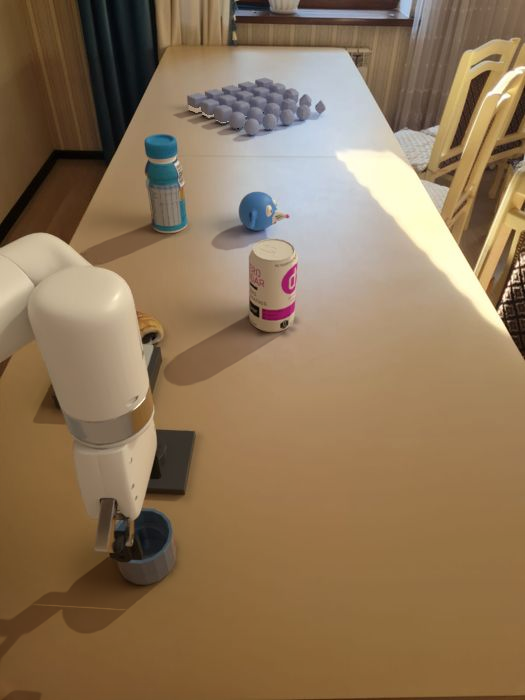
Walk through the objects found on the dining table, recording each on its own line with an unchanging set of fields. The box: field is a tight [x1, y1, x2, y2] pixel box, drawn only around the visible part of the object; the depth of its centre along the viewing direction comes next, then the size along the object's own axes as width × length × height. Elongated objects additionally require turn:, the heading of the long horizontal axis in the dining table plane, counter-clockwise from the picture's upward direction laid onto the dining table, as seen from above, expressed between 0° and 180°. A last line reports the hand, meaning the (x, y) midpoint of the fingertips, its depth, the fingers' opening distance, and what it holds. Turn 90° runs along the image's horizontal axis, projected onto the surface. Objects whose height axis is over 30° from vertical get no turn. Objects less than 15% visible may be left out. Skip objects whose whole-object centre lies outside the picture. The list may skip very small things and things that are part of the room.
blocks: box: [186, 77, 327, 136], centre depth 184 cm, size 35×34×5 cm
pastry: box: [136, 310, 165, 345], centre depth 95 cm, size 9×7×4 cm
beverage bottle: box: [143, 133, 188, 234], centre depth 119 cm, size 8×8×20 cm
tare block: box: [146, 428, 197, 496], centre depth 74 cm, size 12×10×3 cm
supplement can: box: [248, 238, 299, 333], centre depth 95 cm, size 8×8×15 cm
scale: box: [51, 344, 163, 410], centre depth 85 cm, size 14×12×4 cm
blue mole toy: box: [238, 191, 291, 232], centre depth 122 cm, size 12×12×8 cm
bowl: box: [115, 507, 178, 586], centre depth 63 cm, size 7×7×6 cm
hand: (138, 514), depth 58 cm, fingers open, 9 cm apart
